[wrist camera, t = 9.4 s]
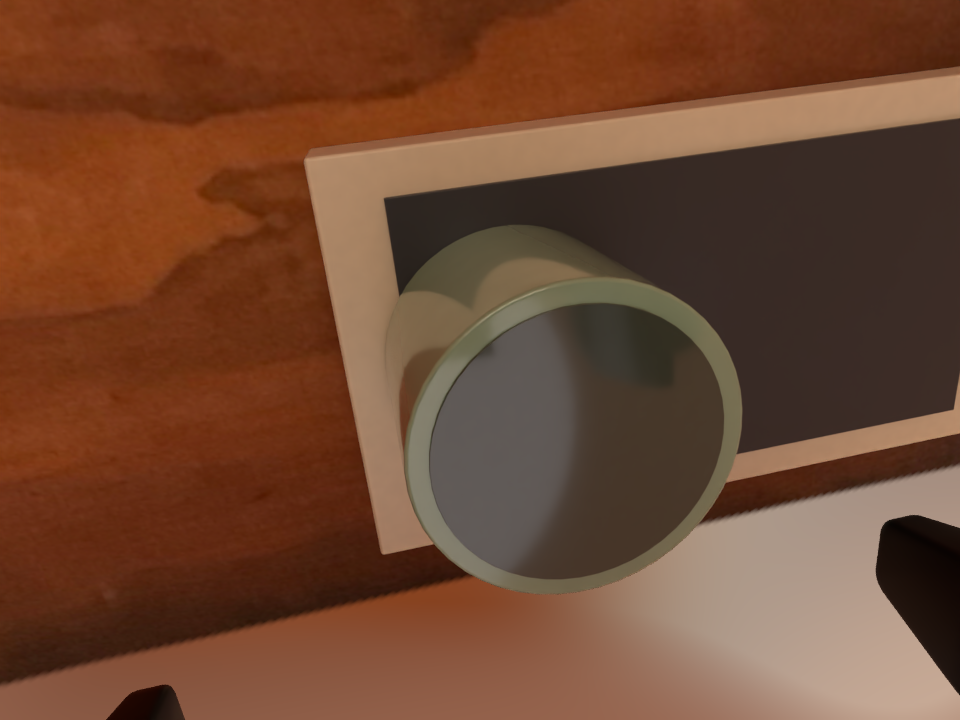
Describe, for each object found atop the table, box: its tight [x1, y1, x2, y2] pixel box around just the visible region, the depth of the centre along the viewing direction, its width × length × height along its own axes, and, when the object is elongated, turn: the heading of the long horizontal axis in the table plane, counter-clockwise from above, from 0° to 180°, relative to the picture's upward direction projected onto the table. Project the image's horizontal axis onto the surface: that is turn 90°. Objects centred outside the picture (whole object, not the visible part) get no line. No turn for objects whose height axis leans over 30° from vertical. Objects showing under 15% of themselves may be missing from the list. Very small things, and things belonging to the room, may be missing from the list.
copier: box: [304, 67, 960, 554], centre depth 18 cm, size 20×10×4 cm, turn 96°
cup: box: [385, 225, 742, 594], centre depth 14 cm, size 6×6×5 cm
